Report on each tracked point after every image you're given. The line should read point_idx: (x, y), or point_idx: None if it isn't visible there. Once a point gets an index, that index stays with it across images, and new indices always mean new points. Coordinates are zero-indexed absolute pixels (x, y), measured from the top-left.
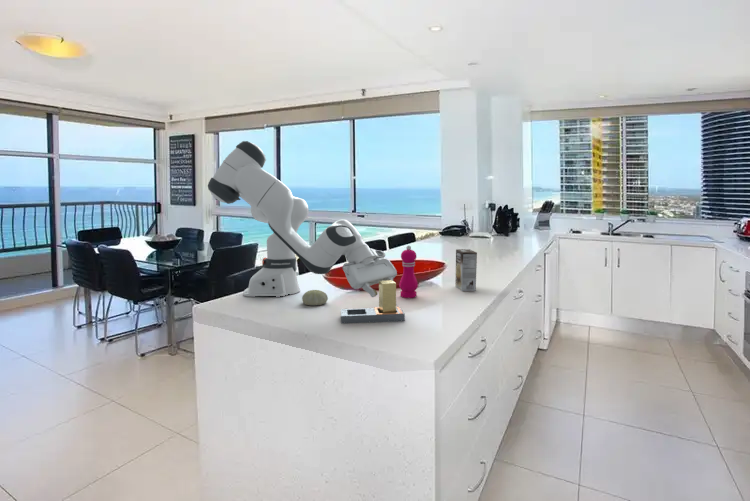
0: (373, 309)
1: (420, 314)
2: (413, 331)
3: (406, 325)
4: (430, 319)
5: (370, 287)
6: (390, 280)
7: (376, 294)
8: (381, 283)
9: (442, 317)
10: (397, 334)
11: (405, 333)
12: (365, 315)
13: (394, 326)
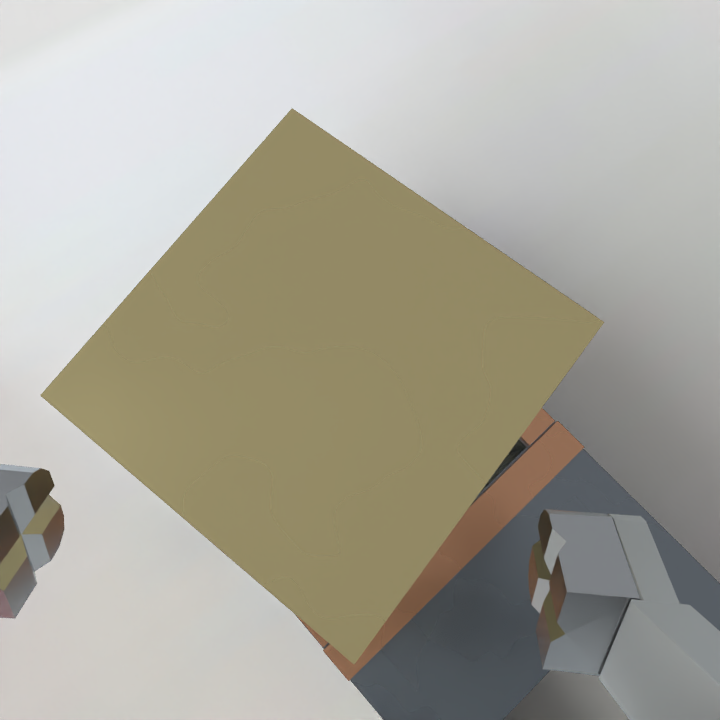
0: (415, 635)
1: (56, 247)
2: (552, 32)
3: (449, 163)
4: (159, 93)
5: (714, 667)
6: (93, 408)
7: (566, 517)
8: (520, 430)
9: (45, 44)
10: (711, 88)
11: (641, 53)
12: (688, 553)
13: (547, 231)
